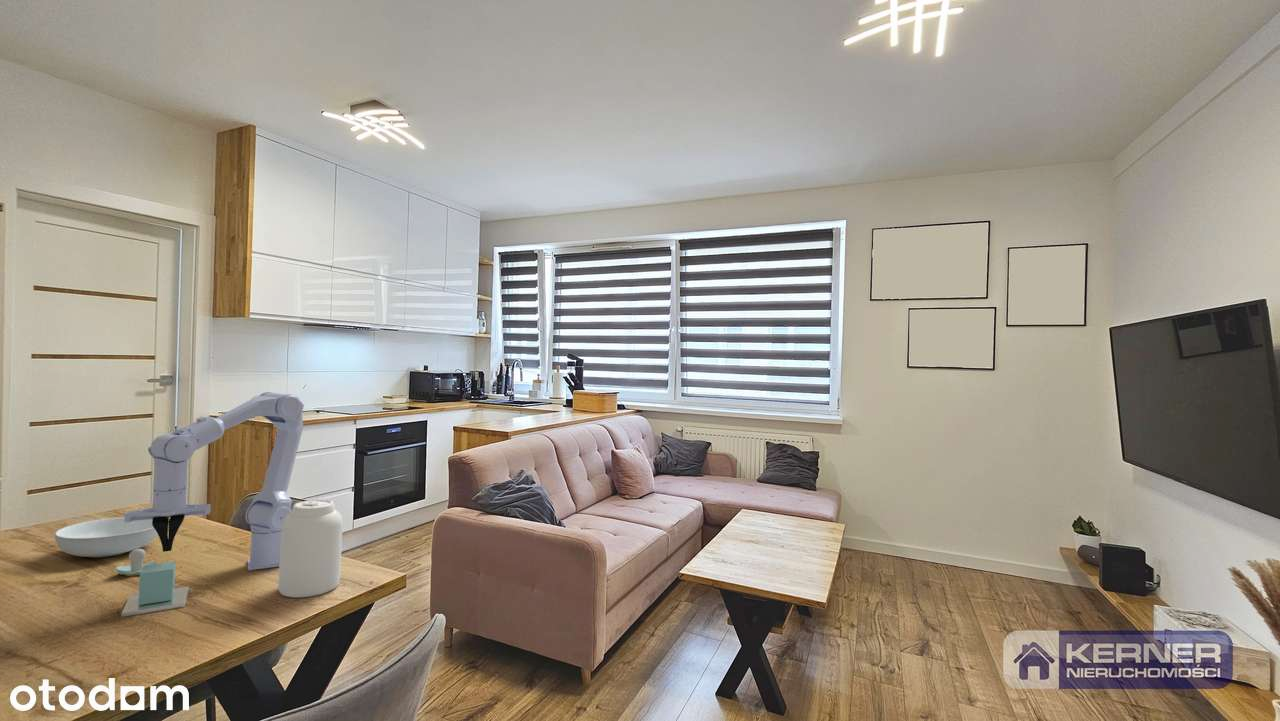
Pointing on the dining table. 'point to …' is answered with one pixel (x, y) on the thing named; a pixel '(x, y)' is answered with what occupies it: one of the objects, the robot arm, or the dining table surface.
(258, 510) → the robot arm
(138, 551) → the pacifier
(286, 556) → the white jar
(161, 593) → the teal block
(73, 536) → the serving bowl
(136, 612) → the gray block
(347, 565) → the dining table surface
